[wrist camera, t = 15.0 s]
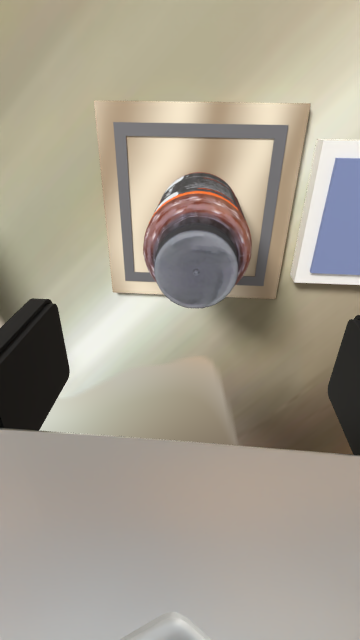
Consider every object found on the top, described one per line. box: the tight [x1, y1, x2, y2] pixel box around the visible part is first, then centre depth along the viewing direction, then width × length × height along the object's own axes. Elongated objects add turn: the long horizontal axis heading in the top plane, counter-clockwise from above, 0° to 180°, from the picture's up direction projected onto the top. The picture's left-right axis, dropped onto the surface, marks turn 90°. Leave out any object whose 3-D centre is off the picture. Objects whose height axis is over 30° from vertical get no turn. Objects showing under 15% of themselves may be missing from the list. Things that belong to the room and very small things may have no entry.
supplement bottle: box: [143, 172, 252, 308], centre depth 20 cm, size 6×6×11 cm
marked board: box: [94, 101, 311, 299], centre depth 26 cm, size 14×14×1 cm
